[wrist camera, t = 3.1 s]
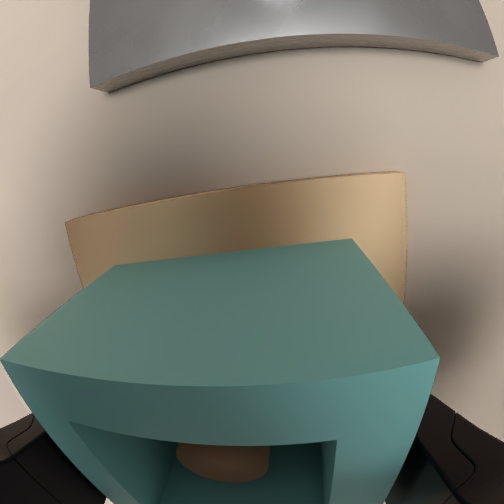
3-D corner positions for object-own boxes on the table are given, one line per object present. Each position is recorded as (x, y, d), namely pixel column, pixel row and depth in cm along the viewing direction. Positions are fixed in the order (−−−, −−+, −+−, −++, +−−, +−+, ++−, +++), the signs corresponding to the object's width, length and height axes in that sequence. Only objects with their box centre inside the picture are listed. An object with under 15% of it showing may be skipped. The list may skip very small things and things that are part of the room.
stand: (396, 171, 7) (504, 194, 3) (379, 421, 10) (401, 509, 6) (75, 218, 9) (-30, 265, 4) (157, 430, 12) (125, 506, 7)
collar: (351, 238, 7) (440, 357, 3) (347, 415, 9) (366, 531, 5) (115, 264, 8) (-1, 358, 4) (174, 421, 10) (136, 521, 6)
